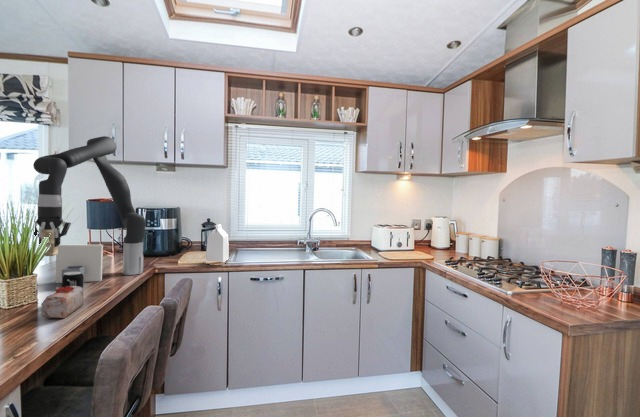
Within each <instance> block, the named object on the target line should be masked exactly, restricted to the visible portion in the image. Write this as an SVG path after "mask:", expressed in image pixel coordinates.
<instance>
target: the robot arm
mask: <svg viewBox="0 0 640 417" xmlns="http://www.w3.org/2000/svg"><path fill="white" fill-rule="evenodd" d="M116 150H117V143H116V142H115V140H114V139H113V138H112V137H110V136H105V135H104V136H103V135H102V136H98V137H94V138H90V139H88V140H87V141H86V145H83V146H79V147H74V148H70V149H68V150H65V151H62V152H59V153H53V154H49V155H43V156H40V157H38V158H36V159H35V160H34V163H33V170H35V171H36V172H37V173H39V174H42V175H48V177H47V179H44V180H40V181H39V182H38V197H37V204H36V205H37V219H36V221H34V222H35V232H34V235H35V236H34V237H36V235H37V232H39V234H38V237H37V238H38V245H39V244H40V243H41V230H44V229H52V230H54V233H55V247H57V246H59V245H61V238H62V237H64V236H67V233H68V231H69V229H70V227H71V224H72V223H71V222H69V221H64V220H63V198H62V190H63V188H62V186H63V183H64V180H65V177H66V175H67V171H68V169H70V168H74V167H76V166H78V165H81V164H83V163H85V162H87V161H90V160H92V159H93V162H94V163H95V164H96V166H97V169H98V170H99V173H100V175H101V176H102V179H103V181H104V183H105V186H106V189H108V190H107V191H108V192H109V194H110V196H111V198H112V202H114V205H115V206H116V208H117V210H118V214H119V217H120V221H121V223H122V226H123V227H124V228H125V229H126V232H125V236H124V238H123V245H122V246H123V250H122V253H123V254H122V274H123V275H125V276H130V275H131V276H133V275H141V274H142V273H143V272H144V239H145V235H146V219H145V217H144V216H143V215H142V214H140V213H137V212H136V209H135V208H134V206H133V203H132V199H131V198H132V196H131V189H130V187H129V185H128V182H127V179H126V178H125V176H124V175H123V174H122V173H121V172H120V171H118V170H117V169H116V168H114V167H113V165H112V164H111V163H110V161H109V159H108V158H107V156H109V155H112V154H114V153H115V152H116ZM61 225H62V230H60V226H61ZM37 226H39V230H38V228H37ZM56 229H57V230H56Z"/></svg>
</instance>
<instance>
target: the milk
mask: <svg viewBox="0 0 640 417" xmlns="http://www.w3.org/2000/svg"><path fill="white" fill-rule="evenodd" d="M229 240H230V239H229V234H228V233H227V232H226V230H224V229H223V227H222V224H216V225H215V229H213V230H212V231H211V233H210V234H209V235H207V243H206V252H205V261H206V260H207V261H220V262H225V261H226V260H228V259H229V258H230V255H229V254H230V251H229V250H230V247H229V245H230V244H229ZM229 260H230V259H229Z"/></svg>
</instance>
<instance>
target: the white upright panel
mask: <svg viewBox="0 0 640 417" xmlns="http://www.w3.org/2000/svg"><path fill="white" fill-rule="evenodd" d="M103 251H104V244H60V245H59V246H58V254H57V255H55V257H56V258H55V282H54V283H55V284H60V283H61V284H62V277H63V276H64V273H66V272H71V271H82V274H83V275H84V281H83V283H85V282H88V283H91V282H101V281H103V257H104V256H103V254H104V252H103Z"/></svg>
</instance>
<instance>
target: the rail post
mask: <svg viewBox="0 0 640 417" xmlns="http://www.w3.org/2000/svg"><path fill="white" fill-rule="evenodd" d="M56 230H57V229H56ZM49 233H51V235H50V234H49ZM49 235H50V237H49ZM43 237H49V242H48V243H47V244H46V247H48V246H49V245H50V244H51V247H50V249H49V250H48V251H47V253H46V254H45V256H44V257H54V256H55V257H56V255H57V254H58V246H57V247H55V233H54V230H52V229H44V230H41V241H42V239H44V238H43Z"/></svg>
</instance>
